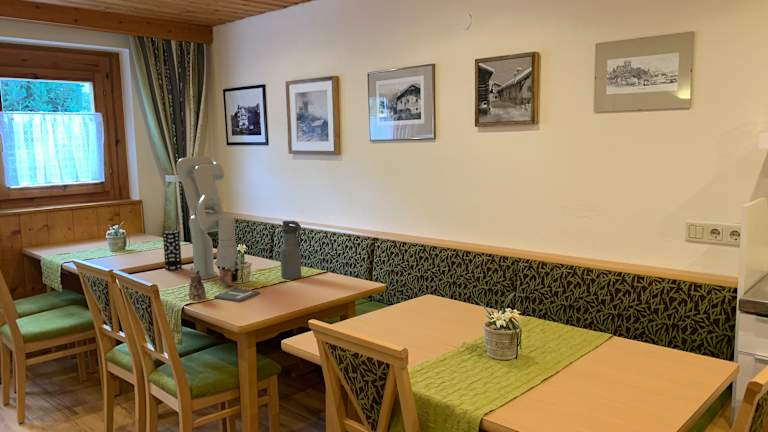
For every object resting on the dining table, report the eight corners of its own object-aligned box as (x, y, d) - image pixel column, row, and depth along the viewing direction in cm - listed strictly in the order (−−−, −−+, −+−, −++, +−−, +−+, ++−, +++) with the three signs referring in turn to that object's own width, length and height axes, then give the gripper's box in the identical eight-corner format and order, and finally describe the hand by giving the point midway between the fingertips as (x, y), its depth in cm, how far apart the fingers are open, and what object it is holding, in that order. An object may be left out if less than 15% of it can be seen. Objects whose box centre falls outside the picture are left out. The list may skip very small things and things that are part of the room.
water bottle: (304, 274, 302) (302, 219, 298) (299, 279, 292) (297, 223, 288) (284, 274, 303) (282, 219, 299) (279, 279, 293) (276, 223, 289)
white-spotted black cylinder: (185, 268, 318) (183, 231, 315) (172, 271, 311) (169, 233, 308) (175, 266, 323) (172, 229, 319) (161, 269, 316) (159, 232, 312)
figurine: (185, 299, 262) (183, 272, 260) (195, 295, 268) (194, 268, 266) (199, 301, 259) (197, 274, 257) (209, 296, 266) (207, 270, 264)
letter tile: (214, 298, 263) (214, 295, 263) (235, 290, 276) (235, 287, 275) (239, 302, 257) (239, 299, 257) (260, 293, 269) (260, 291, 269)
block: (220, 283, 281) (219, 270, 280) (228, 280, 286) (228, 267, 285) (230, 284, 278) (229, 272, 277) (238, 281, 283) (238, 269, 282)
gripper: (207, 242, 280) (209, 280, 282) (236, 245, 272) (238, 284, 275) (218, 239, 286) (220, 276, 289) (247, 242, 279) (249, 280, 281)
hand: (229, 280), depth 282 cm, fingers closed on block, 6 cm apart
